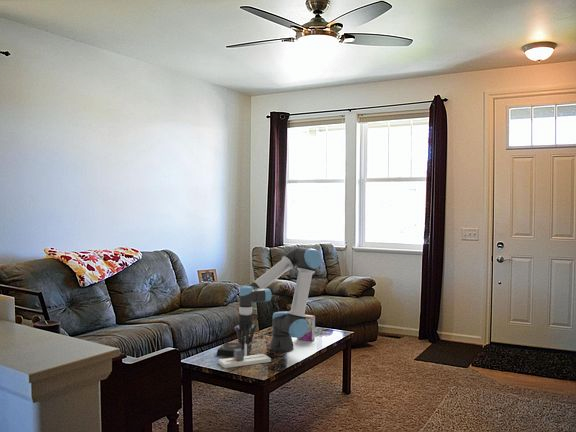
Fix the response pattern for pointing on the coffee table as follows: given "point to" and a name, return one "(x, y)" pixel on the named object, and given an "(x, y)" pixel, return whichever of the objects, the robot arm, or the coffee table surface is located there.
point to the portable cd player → (230, 349)
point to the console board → (247, 360)
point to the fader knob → (238, 354)
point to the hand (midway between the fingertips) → (244, 355)
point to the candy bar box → (309, 329)
